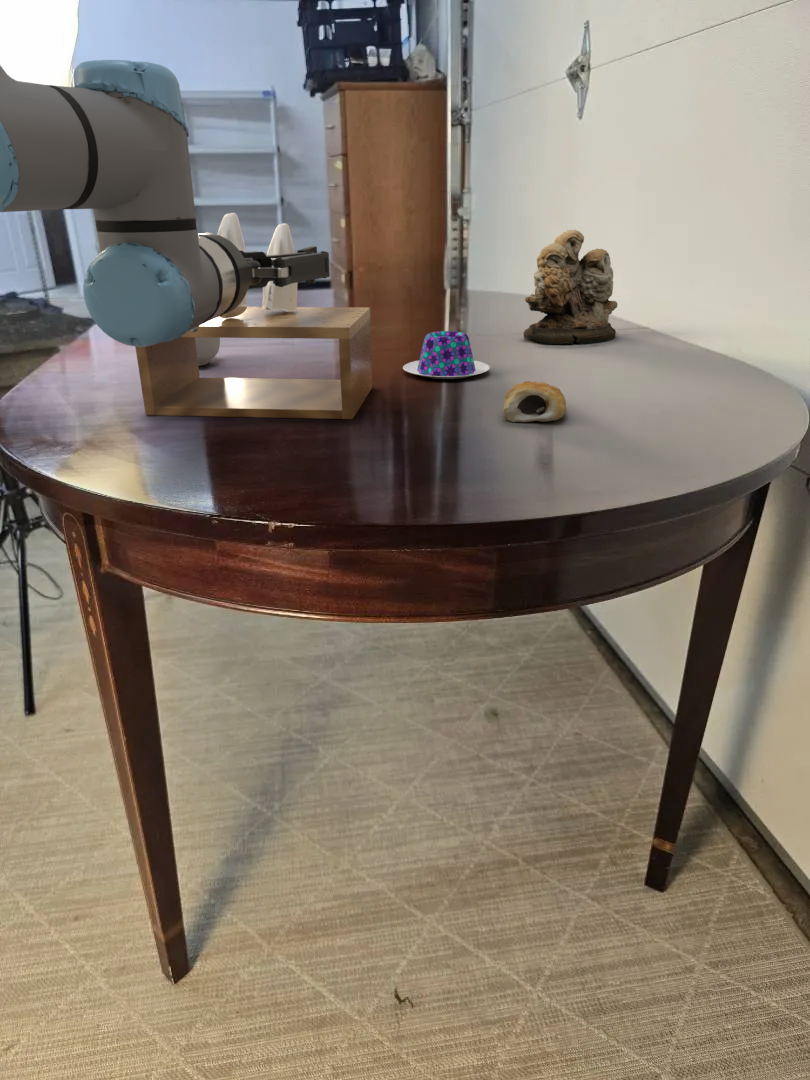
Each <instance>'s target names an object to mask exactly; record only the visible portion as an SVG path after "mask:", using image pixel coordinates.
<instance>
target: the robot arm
mask: <svg viewBox="0 0 810 1080" xmlns="http://www.w3.org/2000/svg"><path fill="white" fill-rule="evenodd" d="M71 77H72V86H63V85H53V84H41V83H34V82H27V81H20V80H16V79H15V78H13V77H12V76H10V75H9V74H7V72H6V71H5V69H4V68H3V67H2V65H1V64H0V213H9V212H10V213H11V212H29V211H30V212H32V211H33V212H34V211H53V210H57V211H62V210H92V212H93V213H92V214H93V217H94V222H95V228H96V234H97V240H98V246H99V252H100V253H99V254H97V255H96V256H94V258H93V259H92V260H91V261H90V263H89V264H88V267H87V270H86V273H85V276H84V280H83V281H84V282H83V285H82V291H83V299H84V303H85V306H86V309H87V311H88V314H89V315H90V317H91V319H92V320H93V321H94V323H95V325H97V327H98V328H99V329H100V330H101V331H102V332H103V333H104V334H105V335H107V336H108V337H109V338H111V339H112V340H114V341H116V342H118V343H120V344H123V345H125V346H131V347H135V346H136V347H145V346H151V345H155V344H158V343H161V342H170V341H173V340H174V339H175V338H176V339H178V338H179V337H180V336H182V335H183V334H185V332H187V331H189V332H196V331H198V326H200V325H202V324H204V323H206V322H208V321H210V320H212V319H214V318H217V317H220V316H222V315H224V314H226V313H228V312H230V311H232V310H234V309H235V308H236V307H237V306H238V305H239V304H240V303H241V302H242V301H243V299H244V297H245V295H246V293H247V294H248V291H249V290H250V289H259V288H263V287H266V286H267V284H268V282H269V281H273V284H275V286H279V287H284V286H286V285H289V284H291V283H297V282H298V283H302V282H305V283H306V284H316V280H318V279H327V278H330V277H331V271H330V268H331V267H330V252H328V251H325V250H320V252H318V247H317V245H316V246H315V245H314V246H307V247H304V248H301V249H298V250H297V252H295V253H290V254H278V255H267V254H266V253H265V252H264V251H258V250H252V251H247V252H243V251H239V250H238V248H237V247H236V246H235V245H234V244H233V243H232V242H230V241H229V240H227V239H226V238H224V237H222V236H220V235H217V234H216V233H213V232H201V233H200V232H198V226H197V219H196V218H197V216H196V209H195V208H196V207H195V198H194V189H193V187H194V186H193V178H192V169H191V168H192V167H191V160H190V150H189V141H188V138H189V132H190V131H189V127H188V125H187V122H186V117H185V116H186V115H185V111H184V104H183V103H184V102H183V101H182V95H181V88H180V83H179V80H178V78H177V76H176V75H175V73H174V72H173V71H172V70H170V69H169V68H168V67H166V66H164V65H162V64H159V63H154V62H148V61H132V60H127V59H126V60H125V59H96V60H87V61H86V60H85V61H83V62H80V63H78V64H77V65H76V66H75V67H74V68H73V71H72V76H71ZM245 258H248V259H245ZM298 283H297V284H298Z"/></svg>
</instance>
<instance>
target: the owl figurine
mask: <svg viewBox="0 0 810 1080" xmlns="http://www.w3.org/2000/svg"><path fill="white" fill-rule="evenodd" d="M584 242H585V236H584V234H583V233H582V232H581V231H579V230H576V229H567V230H566V231H563V232H562V233H561V234H559V235H558V236H556V237H555V239H554V242H553V243H550V244H548V245H546V246H544V247H543V248H542V249H541V250H540V253H539V254H538V255H537V257H536V266H537V270H536V271H535V272H534V273H533V279H534V281H533V283H534V287H535V288H534V294H533V293H531V294H530V295H528V296H526V297H525V298H524V301H525V303H527V304H528V307H529V310H530V311H531V312H540V313H541V314H544V315H545V316H543V318H541V319H540V320H539V321H537V322H535V323H532V324H530V325H529V326H528V327H527V328H526V329H525V330H524V331H523V338H524V339H530V340H533V341H534V342H535V341H536V342H538V343H540V344H547V345H566V344H569V345H572V344H574V342H576V343H577V344H579V345H584V344H585V345H586V344H594V343H601V342H607V341H610V340H613V339H614V338H615V337H616V333H617V331H616V329H615V328H614V327H613V326H612V324H611V323H610V322H609V318H610V315H612V313H613V311H615V310H616V309H617V308H618V302H617V301H616V300H609V299H610V298H611V297H612V296H613V290H614V268H613V267H612V265H611V264H612V262H611V257H610V253H609V252H608V251H607V250H606V249H604V248H595V249H592V250H589V251H588V252H586V254H584V255H583V257H581V259H579V253H580V251H581V249H582V246H583V244H584ZM575 338H576V340H575Z"/></svg>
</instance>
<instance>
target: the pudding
mask: <svg viewBox="0 0 810 1080" xmlns="http://www.w3.org/2000/svg"><path fill="white" fill-rule="evenodd" d="M420 351H421V352H420V356H419V359H418V360H414V361H411V362H408V363H406V364H404V365H403V366H402V369H403V370H404V371H405V372H407V373H409V374H412V375H416V376H420V377H424V378H429V379H436V380H454V379H455V380H456V379H457V380H458V379H464V378H469V377H472V376H477V375H480V374H483V373H486V372H489V370H490V368H491V367H490V365H489V364H487V363H485V362H482V361H479V360H474V356H473V351H472V346H471V342H470V337H469V335H468V334H467V333H464V332H461V331H453V330H452V331H451V330H442V331H433V332H429V333H427V334H426V335H425V337H424V339H423V343H422V347H421V350H420Z"/></svg>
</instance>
